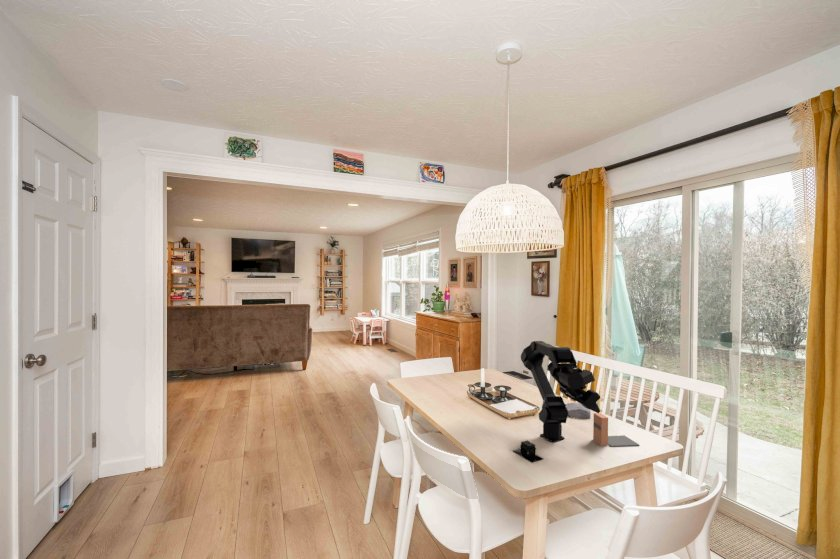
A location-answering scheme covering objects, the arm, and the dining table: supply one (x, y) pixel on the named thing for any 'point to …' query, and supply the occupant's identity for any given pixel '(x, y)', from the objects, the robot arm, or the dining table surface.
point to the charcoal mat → (620, 441)
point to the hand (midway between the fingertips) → (593, 408)
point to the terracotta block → (600, 429)
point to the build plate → (528, 451)
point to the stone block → (577, 410)
